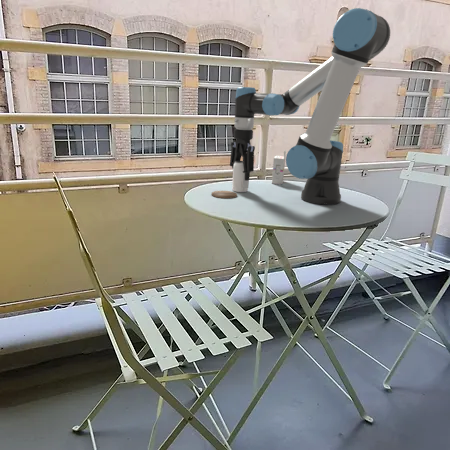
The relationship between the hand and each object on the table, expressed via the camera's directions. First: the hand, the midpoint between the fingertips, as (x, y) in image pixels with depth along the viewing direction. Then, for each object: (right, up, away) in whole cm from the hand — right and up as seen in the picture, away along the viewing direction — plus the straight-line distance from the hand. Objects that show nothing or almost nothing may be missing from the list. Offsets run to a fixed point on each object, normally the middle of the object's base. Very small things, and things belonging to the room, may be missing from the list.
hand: (240, 186), depth 161 cm
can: (0, -2, +1) cm, 2 cm away
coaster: (-7, -4, -8) cm, 11 cm away
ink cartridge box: (+18, +3, +20) cm, 27 cm away
